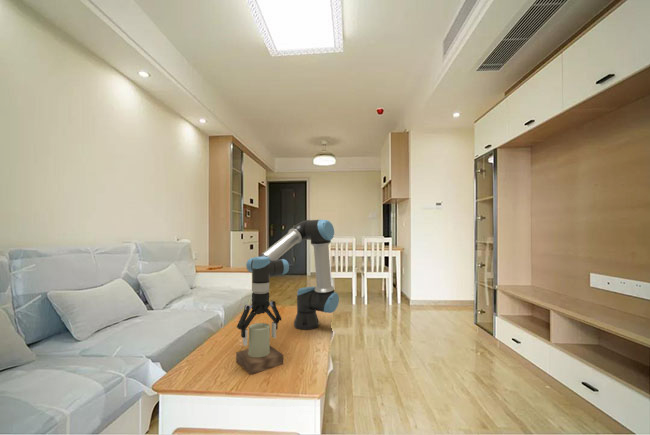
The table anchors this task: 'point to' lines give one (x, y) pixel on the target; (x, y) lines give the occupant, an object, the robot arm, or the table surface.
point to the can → (259, 340)
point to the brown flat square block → (259, 361)
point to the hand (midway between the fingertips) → (259, 341)
